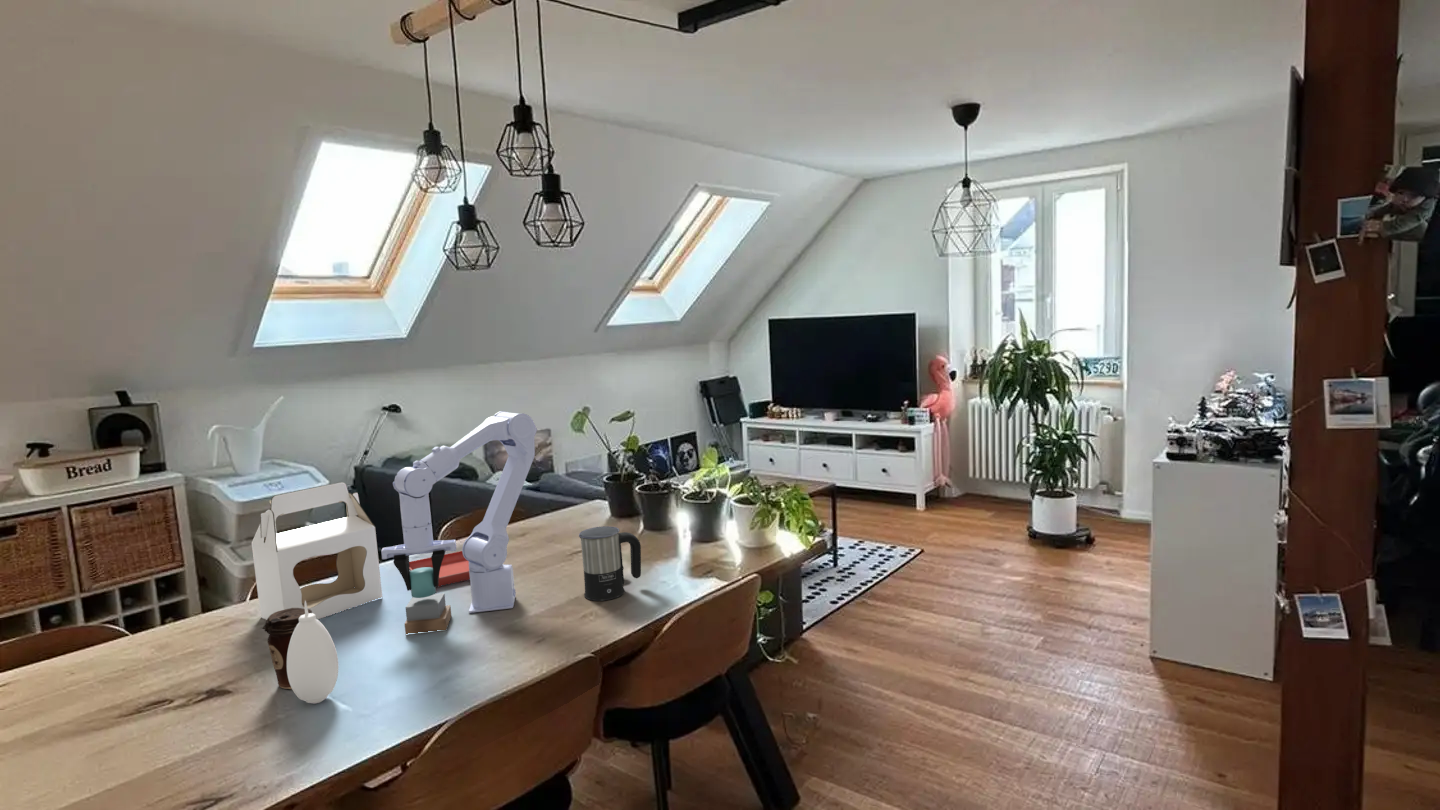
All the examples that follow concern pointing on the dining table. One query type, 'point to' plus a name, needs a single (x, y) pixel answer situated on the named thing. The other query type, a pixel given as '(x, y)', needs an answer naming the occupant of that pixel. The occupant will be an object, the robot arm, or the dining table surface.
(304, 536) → the gable box
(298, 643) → the sauce bottle
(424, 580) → the teal cylinder
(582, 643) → the dining table surface
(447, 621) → the walnut slab
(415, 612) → the gray block
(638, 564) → the milk frother
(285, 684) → the coffee cup
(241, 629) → the dining table surface
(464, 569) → the plant saucer
